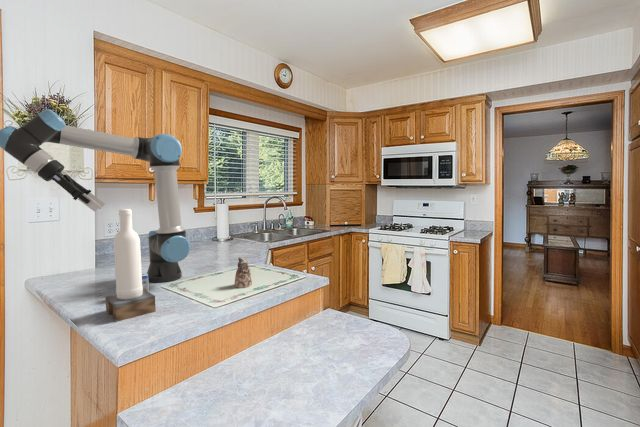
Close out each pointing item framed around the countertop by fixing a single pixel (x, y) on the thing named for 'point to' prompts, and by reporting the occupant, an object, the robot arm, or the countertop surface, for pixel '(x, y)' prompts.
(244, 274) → the figurine
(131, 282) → the bottle
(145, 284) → the medicine box
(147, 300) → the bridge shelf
